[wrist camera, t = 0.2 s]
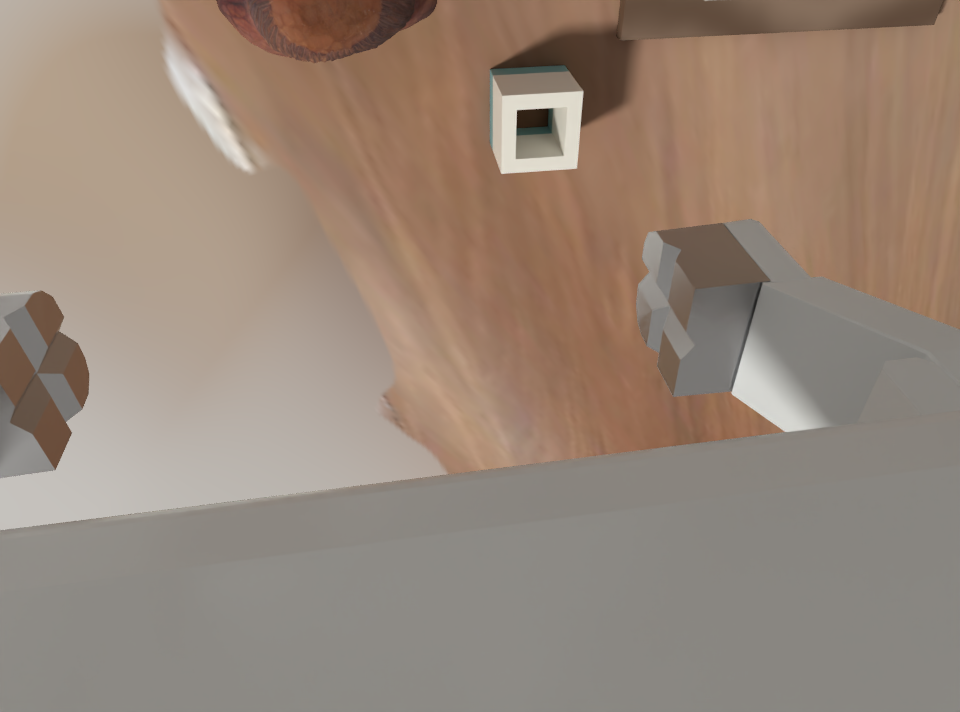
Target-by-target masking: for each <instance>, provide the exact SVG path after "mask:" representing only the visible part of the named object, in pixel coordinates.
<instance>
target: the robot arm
mask: <svg viewBox="0 0 960 712" xmlns="http://www.w3.org/2000/svg"><path fill="white" fill-rule="evenodd" d="M642 260H643V261H644V263H645V265H646V266H647V268H648V270H649V273H648V274H647V275H646V276H645V278H644V279H643V280H642V281H641V282H640V283H639V285H638V292H637V302H636V307H637V319H638V325H639V328H640V332H641V335H642V337H643V339H644V341H645V343H646V345H647V346H648V347H650V348H651V349H653V350H655V351H657V352H658V353H659V357H658V363H657V367H658V369H659V371H660V373H661V374H662V376H663V378H664V380H665V382H666V384H667V386H668V388H669V390H670V392H671V393H672V395H673V397H676V396H686V395H697V394H708V393H719V392H730V391H732V393H731V394H732V395H734V396H735V397H737V398H738V399H739V400H741V401H742V402H744V403H745V404H747V405H748V406H749V407H751V408H752V409H754V410H755V411H757V412H758V413H759V414H761V415H762V416H764V417H765V418H766V419H768V420H769V421H771V422H772V423H774V424H775V425H776V426H778V427H779V428H781V429H782V430H784V431H785V432H783V433H775V434H767V435H759V436H751V437H743V438H735V439H727V440H719V441H711V442H703V443H695V444H687V445H679V446H672V447H664V448H656V449H648V450H640V451H632V452H624V453H616V454H608V455H600V456H592V457H584V458H576V459H568V460H560V461H552V462H544V463H536V464H528V465H520V466H512V467H504V468H496V469H488V470H480V471H472V472H464V473H456V474H448V475H440V476H432V477H425V478H416V479H409V480H400V481H392V482H385V483H376V484H368V485H360V486H353V487H344V488H336V489H329V490H320V491H312V492H305V493H296V494H288V495H280V496H272V497H264V498H256V499H248V500H240V501H232V502H224V503H216V504H209V505H200V506H192V507H185V508H176V509H168V510H161V511H152V512H144V513H136V514H128V515H120V516H112V517H105V518H96V519H88V520H81V521H73V522H65V523H56V524H48V525H40V526H32V527H24V528H16V529H8V530H1V531H0V712H960V330H959V329H957V328H954V327H952V326H949V325H946V324H944V323H941V322H938V321H936V320H933V319H931V318H928V317H925V316H923V315H920V314H918V313H915V312H912V311H910V310H907V309H905V308H902V307H899V306H897V305H894V304H892V303H889V302H886V301H884V300H881V299H879V298H876V297H873V296H871V295H868V294H866V293H863V292H860V291H858V290H855V289H853V288H850V287H847V286H845V285H842V284H840V283H837V282H834V281H832V280H829V279H827V278H824V277H813V278H811V277H810V276H809V275H808V274H807V273H806V272H805V271H804V270H803V269H802V268H801V267H800V265H799V264H798V263H797V262H796V261H795V260H794V259H793V258H792V257H791V256H790V255H789V254H788V252H787V251H786V250H785V249H784V248H783V247H782V246H781V245H780V244H779V243H778V242H777V241H776V239H775V238H774V237H773V236H772V235H771V234H770V233H769V232H768V231H767V230H766V229H765V228H764V227H763V225H762V224H761V223H760V222H758V221H755V220H752V219H748V220H740V221H733V222H726V223H718V224H710V225H702V226H694V227H686V228H678V229H669V230H661V231H654V232H649V233H648V235H647V238H646V240H645V243H644V249H643V255H642ZM63 319H64V316H63V314H62V312H61V311H60V309H59V307H58V305H57V304H56V302H55V300H54V298H53V297H52V296H50V295H49V294H47V293H45V292H43V291H28V292H15V293H3V294H0V478H3V477H10V476H18V475H24V474H32V473H39V472H45V471H53V470H56V467H57V465H58V463H59V461H60V458H61V456H62V454H63V452H64V450H65V447H66V445H67V443H68V441H69V438H70V436H71V434H72V432H71V431H70V429H69V427H68V425H67V424H66V421H67V420H69V419H70V418H71V417H73V416H74V415H75V414H77V413H78V412H79V411H81V410H82V408H83V406H84V404H85V401H86V399H87V396H88V390H89V371H88V367H87V364H86V360H85V357H84V355H83V353H82V351H81V349H80V347H79V345H78V343H76V342H75V341H73V340H72V339H70V338H68V337H67V336H66V335H64V334H62V333H61V332H59V330H60V327H61V324H62V322H63Z"/></svg>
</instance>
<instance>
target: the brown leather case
mask: <svg viewBox="0 0 960 712" xmlns="http://www.w3.org/2000/svg"><path fill="white" fill-rule="evenodd" d="M216 1H217V4H218V7H219V9H220V11H221V12H222V14H223V15H224V16H225V17H226V18H227V19H228V20H229V22H230V23H231V24H232V25H233V26H234V28H235V29H236V30H237V31H238V32H239V33H240V34H241V35H242V36H243V37H245V38H246V39H247V40H248V41H249V42H251V43H252V44H254V45H256V46H258V47H260V48H262V49H263V50H265V51H267V52H269V53H272V54H276V55H279V56H284V57H290V58H295V59H297V60H300V61H306V62H307V61H311V62H312V63H318V62H320V61H322V62H326V61H328V60H331V61H334V60H335V59H341V58H344V57H346V56H350V55H352V54H354V53H359V52H363V51H367V50H370V49H373V48H377V47H378V45H381V44H383V43H384V42H385V41H386V40H388V39H390V38H391V37H392V36H393V35H394V34H396V33H397V32H398V31H401V30H403V29H406V28H408V27H410V26H412V25H414V24H415V23H417V22H419V21H420V20H422V19H424V18H426V17H428V16H429V15H430V14H431V13H432V12H433V11H434V9H435V7H436V4H437V0H216Z"/></svg>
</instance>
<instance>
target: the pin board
mask: <svg viewBox="0 0 960 712" xmlns="http://www.w3.org/2000/svg"><path fill="white" fill-rule="evenodd" d="M942 3H943V0H707V1H705V0H620V9H619V18H618V27H617V37H618V38H619V39H620V40H641V39H661V38H681V37H701V36H721V35H740V34H760V33H780V32H800V31H820V30H840V29H860V28H880V27H900V26H920V25H934V24H935V21H936V18H937V16H938V13H939V11H940V8H941V5H942Z"/></svg>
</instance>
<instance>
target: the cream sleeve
mask: <svg viewBox="0 0 960 712" xmlns="http://www.w3.org/2000/svg"><path fill="white" fill-rule="evenodd" d="M582 102H583V90H582V88H581V87H580V86H579V84H578V83H577V82H576V80H575V79H574V77H573V76H572V75H571V73H570V72H569V71H568V69H567V68H566V66H565V65H559V66H541V67H522V68H503V69H490V144H491V147H492V150H493V152H494V155H495V158H496V161H497V163H498V166H499V169H500V172H501V174H505V173H519V172H534V171H548V170H563V169H577V160H578V149H579V137H580V126H581V114H582ZM544 108H549V113H548V126H546V127H530V128H516V125H517V110H527V109H544Z"/></svg>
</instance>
